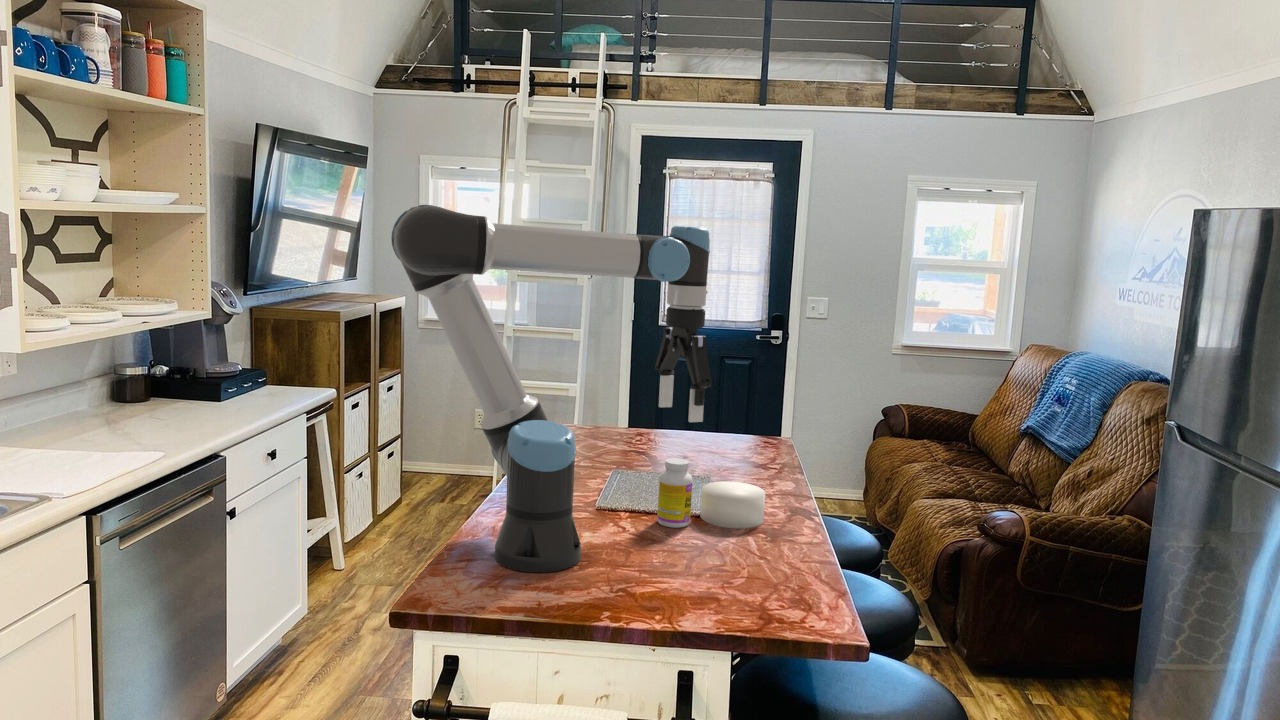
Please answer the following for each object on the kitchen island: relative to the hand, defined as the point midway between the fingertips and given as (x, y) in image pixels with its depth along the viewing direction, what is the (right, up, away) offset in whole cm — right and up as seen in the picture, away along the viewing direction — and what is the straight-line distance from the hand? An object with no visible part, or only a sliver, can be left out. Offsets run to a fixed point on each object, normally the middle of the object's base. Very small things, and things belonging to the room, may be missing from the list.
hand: (679, 414), depth 181 cm
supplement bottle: (-1, -22, +3) cm, 23 cm away
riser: (+11, -22, +9) cm, 26 cm away
